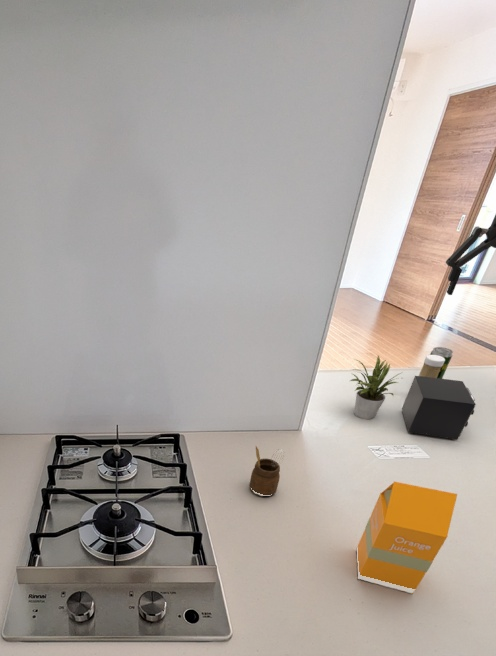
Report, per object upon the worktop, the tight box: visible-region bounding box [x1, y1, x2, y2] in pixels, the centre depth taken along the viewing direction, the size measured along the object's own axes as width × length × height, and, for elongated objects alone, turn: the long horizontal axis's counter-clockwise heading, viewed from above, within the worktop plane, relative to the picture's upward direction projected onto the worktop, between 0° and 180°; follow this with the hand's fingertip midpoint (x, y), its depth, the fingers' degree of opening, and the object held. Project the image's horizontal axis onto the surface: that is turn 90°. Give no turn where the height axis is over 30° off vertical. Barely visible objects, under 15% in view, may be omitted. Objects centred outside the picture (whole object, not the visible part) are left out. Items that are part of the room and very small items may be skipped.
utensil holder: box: [249, 445, 284, 495], centre depth 95 cm, size 6×6×12 cm
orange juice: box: [356, 481, 458, 590], centre depth 74 cm, size 8×9×20 cm
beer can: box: [429, 346, 454, 379], centre depth 132 cm, size 5×5×12 cm
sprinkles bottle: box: [418, 354, 445, 378], centre depth 126 cm, size 5×5×14 cm
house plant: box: [349, 355, 404, 420], centre depth 120 cm, size 14×14×16 cm
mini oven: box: [401, 375, 477, 440], centre depth 115 cm, size 12×13×11 cm
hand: (478, 295), depth 117 cm, fingers open, 13 cm apart
